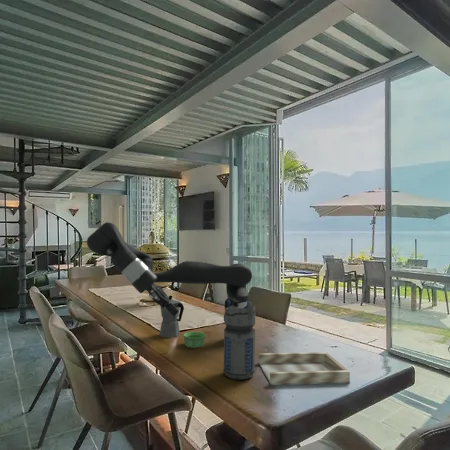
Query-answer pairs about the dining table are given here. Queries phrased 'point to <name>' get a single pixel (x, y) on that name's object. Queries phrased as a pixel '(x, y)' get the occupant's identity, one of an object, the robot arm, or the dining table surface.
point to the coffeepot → (171, 320)
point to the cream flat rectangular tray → (302, 368)
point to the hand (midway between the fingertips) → (176, 313)
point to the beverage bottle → (239, 339)
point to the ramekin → (194, 339)
